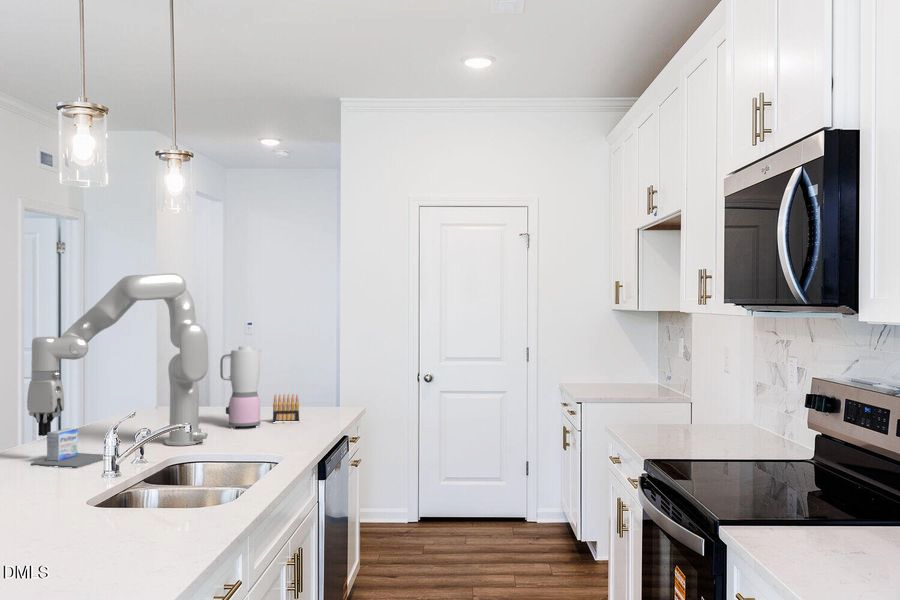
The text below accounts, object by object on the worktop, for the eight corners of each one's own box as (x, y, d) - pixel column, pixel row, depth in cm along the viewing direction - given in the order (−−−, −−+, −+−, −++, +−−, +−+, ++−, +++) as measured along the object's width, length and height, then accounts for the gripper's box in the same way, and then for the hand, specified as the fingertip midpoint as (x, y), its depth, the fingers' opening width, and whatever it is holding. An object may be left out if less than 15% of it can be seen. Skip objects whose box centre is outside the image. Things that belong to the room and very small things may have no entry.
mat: (113, 457, 222) (113, 455, 222) (76, 468, 206) (76, 466, 206) (70, 454, 225) (70, 452, 225) (30, 465, 209) (30, 463, 209)
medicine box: (58, 461, 212) (59, 432, 212) (46, 460, 213) (46, 432, 213) (77, 456, 220) (78, 428, 220) (65, 455, 221) (66, 427, 221)
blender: (258, 423, 287) (259, 345, 287) (262, 428, 275) (263, 347, 276) (218, 425, 280) (219, 346, 281) (220, 430, 269) (221, 347, 270)
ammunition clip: (299, 422, 291) (299, 393, 291) (299, 422, 289) (299, 393, 289) (272, 422, 289) (273, 393, 289) (272, 423, 287) (272, 394, 287)
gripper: (74, 375, 220) (74, 434, 220) (34, 374, 223) (33, 431, 223) (56, 378, 213) (55, 438, 212) (15, 376, 216) (14, 436, 216)
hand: (44, 434), depth 218 cm, fingers closed
